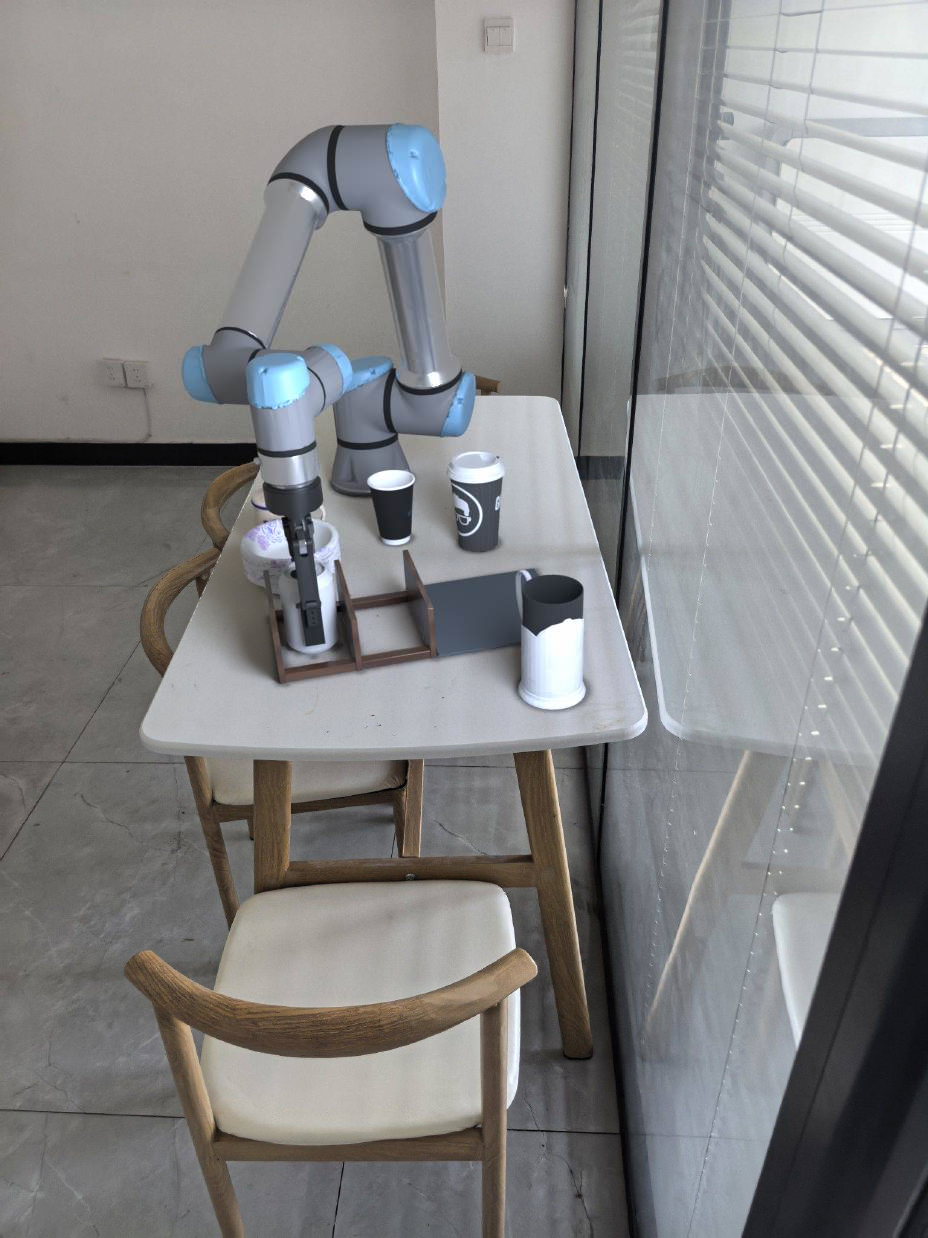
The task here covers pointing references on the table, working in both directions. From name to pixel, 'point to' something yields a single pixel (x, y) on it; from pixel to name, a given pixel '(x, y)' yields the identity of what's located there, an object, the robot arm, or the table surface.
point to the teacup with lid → (263, 514)
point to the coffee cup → (477, 498)
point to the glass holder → (551, 640)
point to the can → (293, 615)
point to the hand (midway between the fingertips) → (312, 628)
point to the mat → (476, 613)
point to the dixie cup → (393, 504)
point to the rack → (346, 607)
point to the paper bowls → (284, 550)
